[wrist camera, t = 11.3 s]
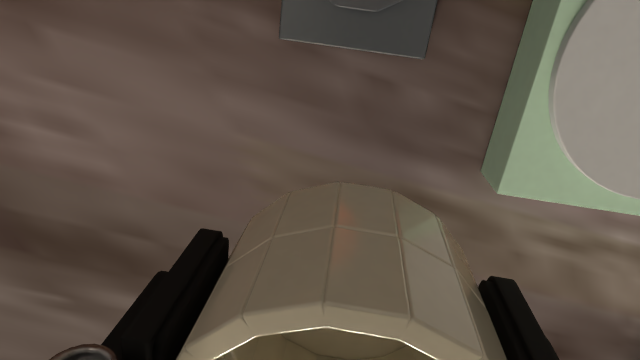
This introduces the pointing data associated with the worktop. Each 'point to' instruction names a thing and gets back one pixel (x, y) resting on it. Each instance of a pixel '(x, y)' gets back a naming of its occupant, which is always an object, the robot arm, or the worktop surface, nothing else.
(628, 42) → the scale
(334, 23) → the block
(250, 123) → the worktop surface
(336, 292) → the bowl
